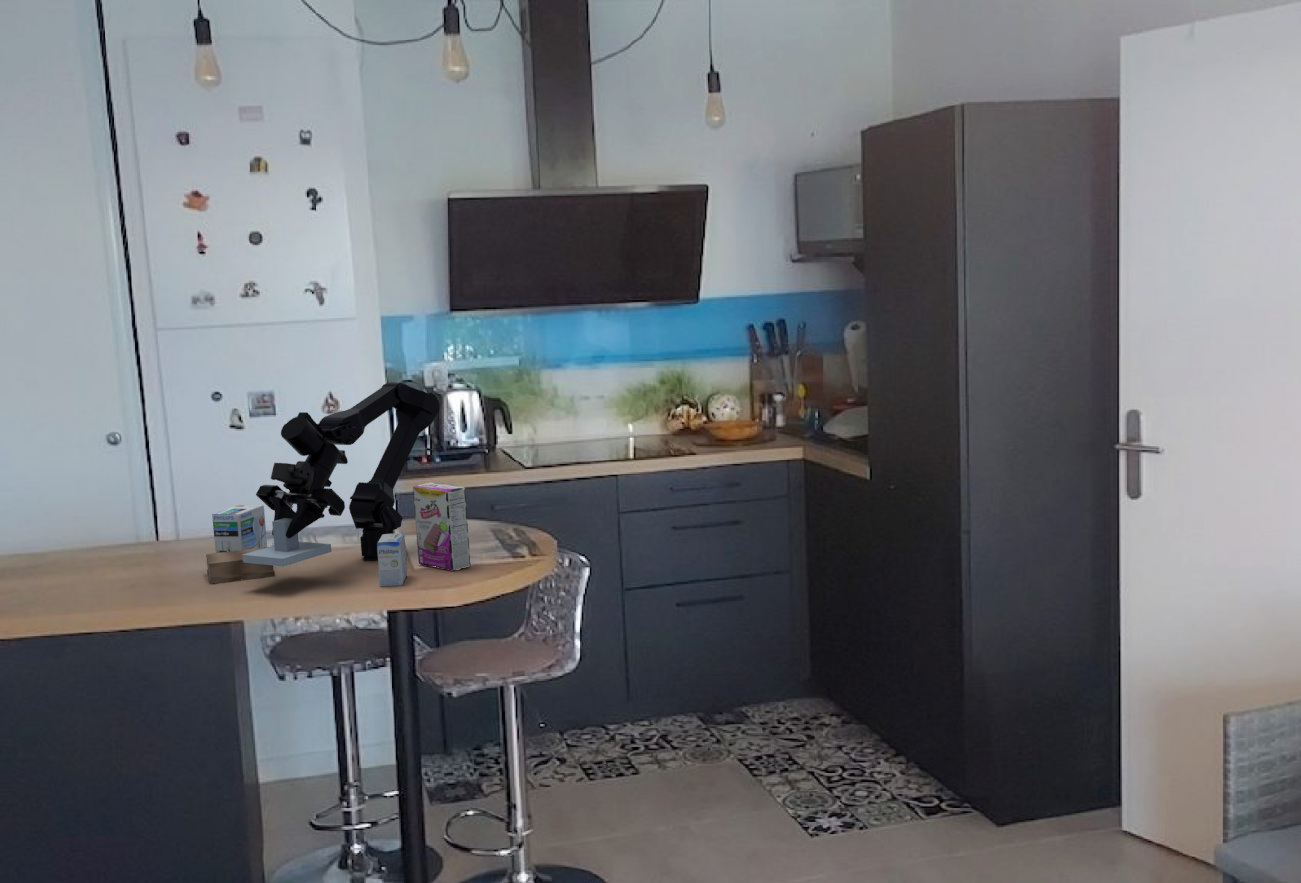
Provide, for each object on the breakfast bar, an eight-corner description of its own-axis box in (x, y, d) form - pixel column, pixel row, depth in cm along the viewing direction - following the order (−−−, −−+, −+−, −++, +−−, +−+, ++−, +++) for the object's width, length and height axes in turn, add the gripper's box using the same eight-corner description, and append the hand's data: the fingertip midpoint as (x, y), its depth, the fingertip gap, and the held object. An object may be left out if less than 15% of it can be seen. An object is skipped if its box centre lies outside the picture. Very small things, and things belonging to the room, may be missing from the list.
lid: (291, 548, 255) (288, 512, 254) (331, 551, 250) (328, 515, 249) (243, 562, 244) (239, 525, 244) (283, 566, 239) (279, 528, 238)
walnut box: (269, 565, 267) (268, 546, 266) (274, 575, 257) (273, 556, 257) (207, 573, 262) (205, 554, 262) (210, 584, 253) (208, 564, 252)
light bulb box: (244, 564, 269) (239, 513, 268) (215, 564, 271) (210, 514, 269) (269, 552, 280) (265, 504, 278) (240, 552, 281) (236, 504, 280)
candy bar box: (417, 565, 260) (411, 485, 258) (436, 560, 264) (430, 481, 262) (452, 572, 253) (446, 490, 251) (471, 567, 257) (466, 486, 254)
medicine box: (384, 577, 251) (381, 534, 250) (407, 576, 252) (404, 532, 251) (379, 587, 244) (376, 542, 243) (403, 585, 244) (400, 540, 243)
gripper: (258, 444, 252) (220, 510, 244) (329, 447, 243) (291, 516, 235) (291, 476, 260) (255, 542, 252) (361, 480, 251) (326, 548, 243)
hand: (280, 536), depth 246 cm, fingers closed on lid, 3 cm apart
